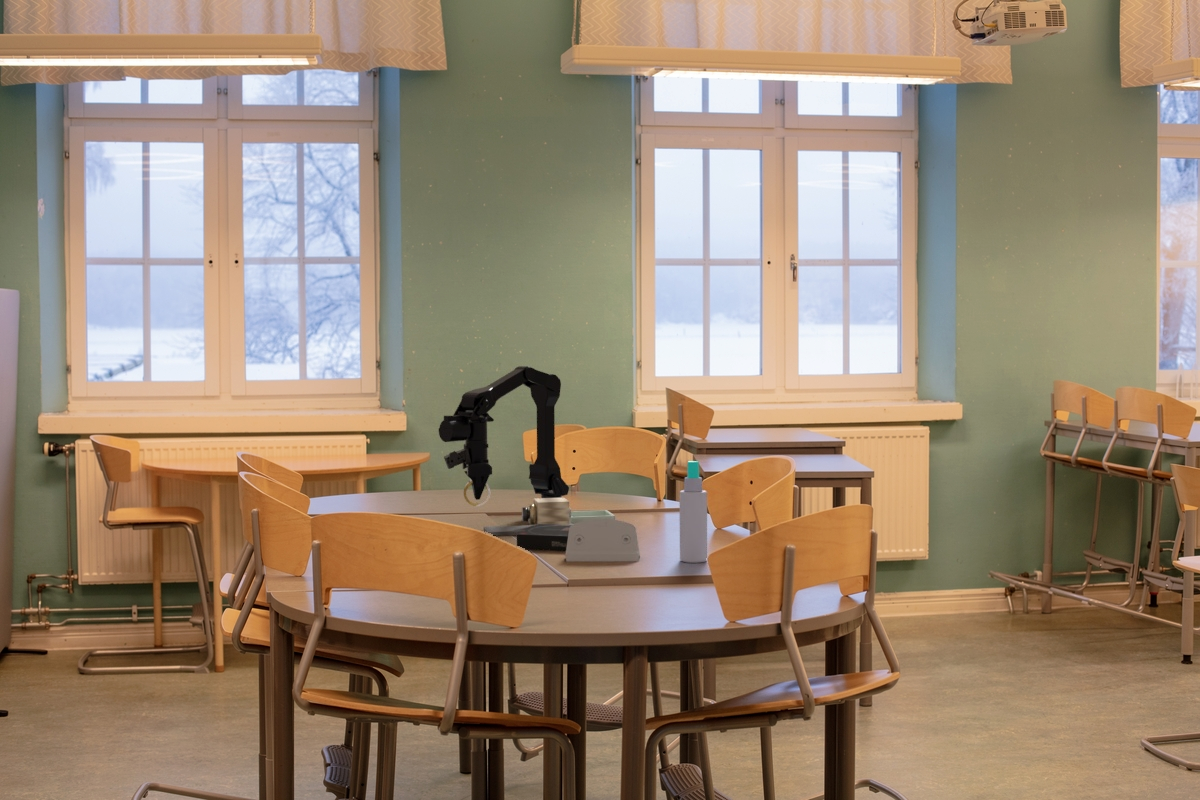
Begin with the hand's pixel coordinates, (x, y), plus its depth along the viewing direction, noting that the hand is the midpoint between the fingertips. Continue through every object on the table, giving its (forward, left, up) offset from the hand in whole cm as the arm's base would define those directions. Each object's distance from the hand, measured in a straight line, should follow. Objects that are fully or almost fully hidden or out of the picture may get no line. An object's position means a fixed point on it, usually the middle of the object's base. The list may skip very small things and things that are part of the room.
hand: (477, 498), depth 310 cm
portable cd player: (+31, +17, -8) cm, 36 cm away
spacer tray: (-1, +30, -8) cm, 31 cm away
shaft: (+10, +17, -6) cm, 20 cm away
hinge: (+51, +23, -8) cm, 57 cm away
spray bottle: (+59, +42, -8) cm, 73 cm away
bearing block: (+10, +14, -8) cm, 19 cm away
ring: (0, 0, -2) cm, 2 cm away
